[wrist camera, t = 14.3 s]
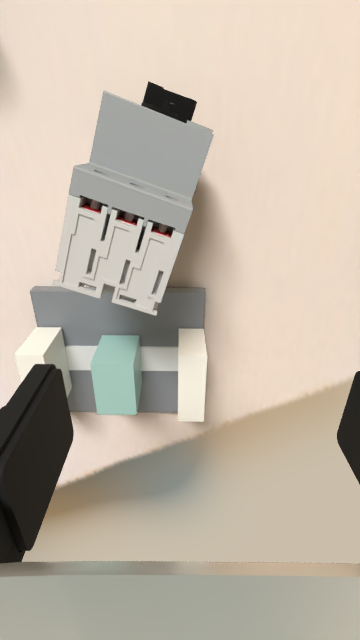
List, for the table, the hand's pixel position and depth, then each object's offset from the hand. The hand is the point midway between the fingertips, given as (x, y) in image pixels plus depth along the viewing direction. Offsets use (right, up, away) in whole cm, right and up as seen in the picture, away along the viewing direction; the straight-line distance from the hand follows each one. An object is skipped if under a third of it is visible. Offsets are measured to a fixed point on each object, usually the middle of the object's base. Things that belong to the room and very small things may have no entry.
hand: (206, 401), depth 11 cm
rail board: (-8, -1, +33) cm, 34 cm away
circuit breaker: (-4, +17, +23) cm, 29 cm away
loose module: (-8, -2, +31) cm, 32 cm away
